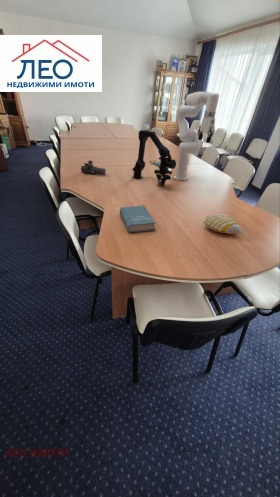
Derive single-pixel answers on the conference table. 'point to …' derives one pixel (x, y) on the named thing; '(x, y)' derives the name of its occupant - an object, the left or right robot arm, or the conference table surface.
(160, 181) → the grey metal block
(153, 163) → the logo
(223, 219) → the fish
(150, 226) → the book
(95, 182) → the conference table surface
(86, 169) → the laser sight
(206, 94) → the right robot arm
